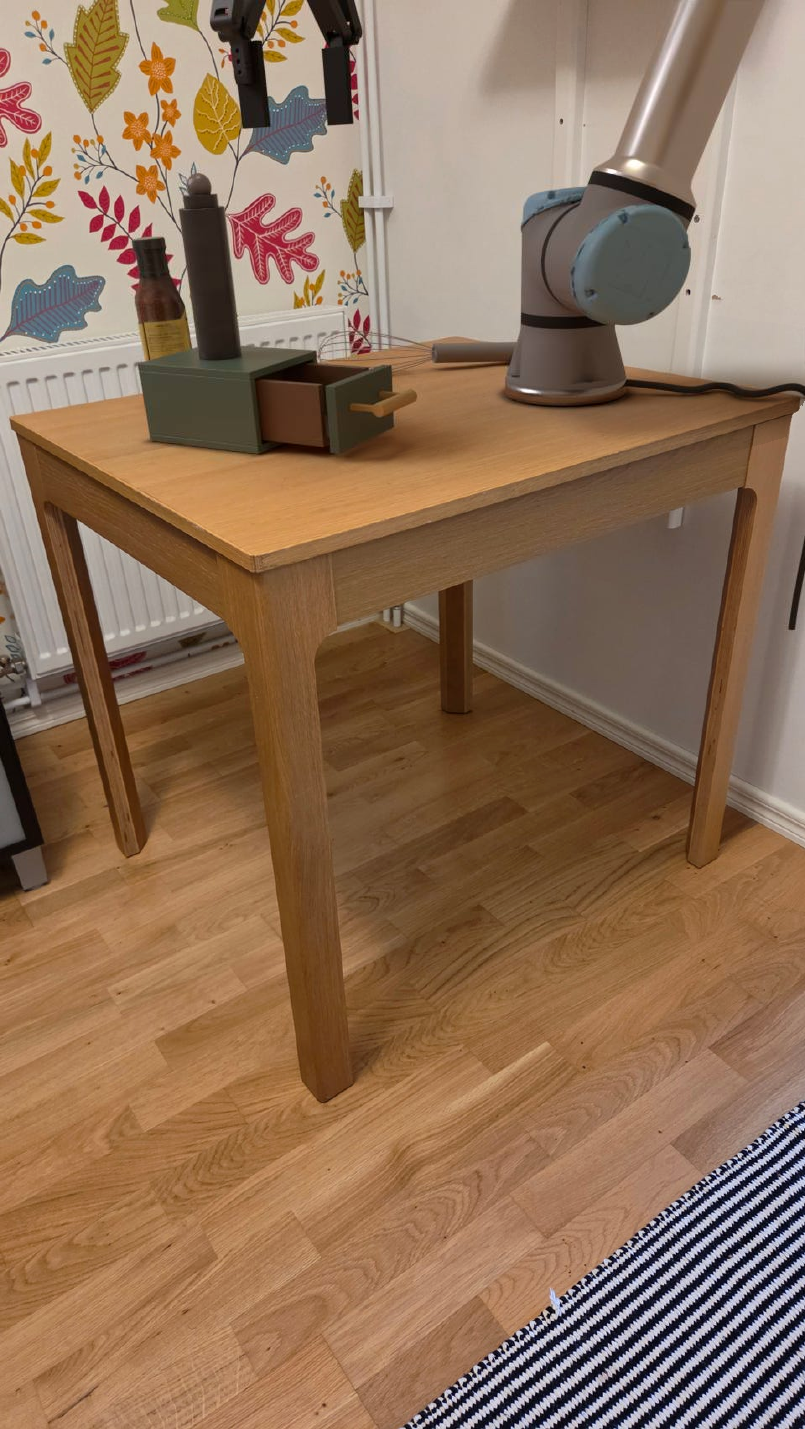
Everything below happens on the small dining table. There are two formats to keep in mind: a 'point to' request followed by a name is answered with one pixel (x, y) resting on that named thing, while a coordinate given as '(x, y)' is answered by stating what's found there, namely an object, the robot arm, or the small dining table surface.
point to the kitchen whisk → (443, 351)
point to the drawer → (328, 404)
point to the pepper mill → (209, 271)
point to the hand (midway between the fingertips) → (300, 127)
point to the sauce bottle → (158, 302)
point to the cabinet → (211, 397)
